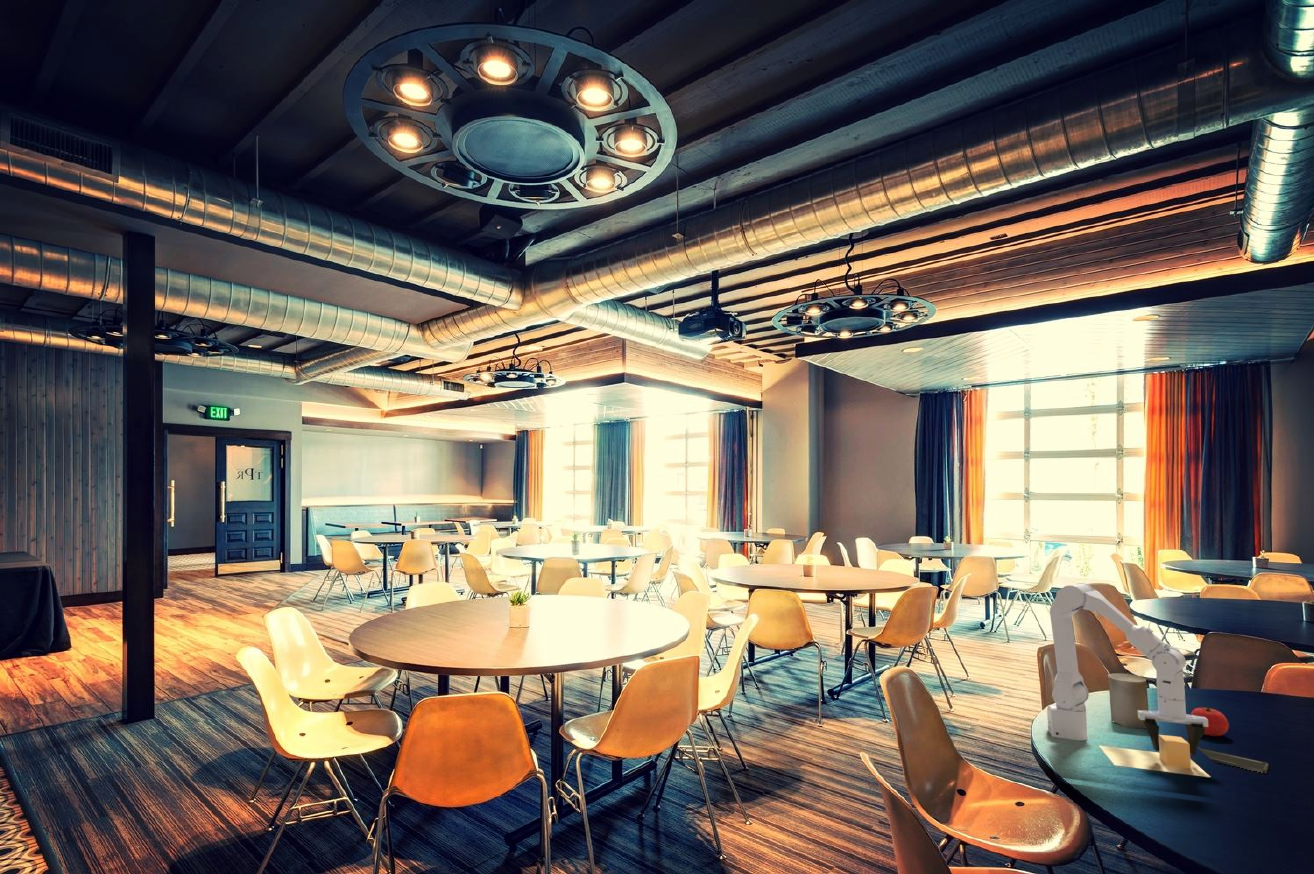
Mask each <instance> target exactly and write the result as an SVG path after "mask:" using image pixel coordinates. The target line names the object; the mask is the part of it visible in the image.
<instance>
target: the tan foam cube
mask: <svg viewBox="0 0 1314 874" xmlns="http://www.w3.org/2000/svg"><path fill="white" fill-rule="evenodd" d="M1158 753H1159V758H1160V759H1161V760H1162V761H1163V762H1164V763H1165V764H1166V765H1167V766H1174V767H1182V768H1190V769H1191V762H1190V759H1191V753H1190V745H1189V743H1188V740H1185V739H1184V738H1183V737H1182V736H1177V735H1176V736H1175V735H1168V734H1167V735H1165V734H1164V735H1163V734H1159V751H1158Z"/></svg>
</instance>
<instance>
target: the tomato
mask: <svg viewBox="0 0 1314 874" xmlns="http://www.w3.org/2000/svg"><path fill="white" fill-rule="evenodd" d="M1190 715H1194V716H1201V717H1205V718H1207V719H1208V727H1204V726H1203V728H1205V733H1204V734H1203V735H1205V736H1208V735H1209V737H1221V736H1223V735H1224V734H1226V733H1227V732H1228V731H1229V727H1230V724H1229V721H1228V719H1227V718H1226V716H1225V715H1224V714H1223V713H1222V712H1221V711H1218V709H1217V710H1216V709H1214V708H1210V706H1207V707H1197V708H1194V709H1193V710H1192V711H1191V713H1190Z"/></svg>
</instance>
